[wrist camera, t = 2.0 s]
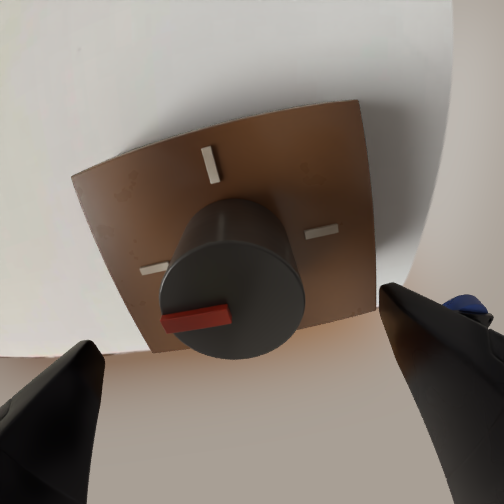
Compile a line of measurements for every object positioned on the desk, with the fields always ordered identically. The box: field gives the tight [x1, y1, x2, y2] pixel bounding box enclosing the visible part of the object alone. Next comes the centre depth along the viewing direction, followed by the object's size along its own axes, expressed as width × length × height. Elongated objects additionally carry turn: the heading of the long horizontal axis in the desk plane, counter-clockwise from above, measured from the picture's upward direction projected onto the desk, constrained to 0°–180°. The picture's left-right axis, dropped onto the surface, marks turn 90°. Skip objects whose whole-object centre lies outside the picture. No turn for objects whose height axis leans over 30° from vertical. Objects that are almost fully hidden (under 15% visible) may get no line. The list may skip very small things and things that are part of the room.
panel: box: [71, 100, 376, 353], centre depth 14 cm, size 12×10×5 cm
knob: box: [159, 199, 306, 360], centre depth 10 cm, size 4×4×4 cm
